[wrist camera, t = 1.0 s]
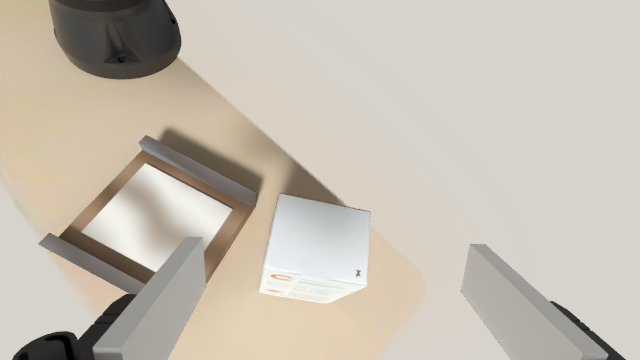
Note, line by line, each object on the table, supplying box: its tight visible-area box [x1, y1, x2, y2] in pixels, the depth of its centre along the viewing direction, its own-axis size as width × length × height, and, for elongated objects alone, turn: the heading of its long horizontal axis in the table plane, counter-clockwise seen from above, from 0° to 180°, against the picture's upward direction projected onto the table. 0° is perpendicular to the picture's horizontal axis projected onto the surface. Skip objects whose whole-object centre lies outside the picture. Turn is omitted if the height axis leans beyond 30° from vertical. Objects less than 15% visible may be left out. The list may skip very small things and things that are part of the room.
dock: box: [39, 135, 257, 294], centre depth 33 cm, size 14×14×4 cm
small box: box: [258, 193, 370, 303], centre depth 30 cm, size 8×6×13 cm
